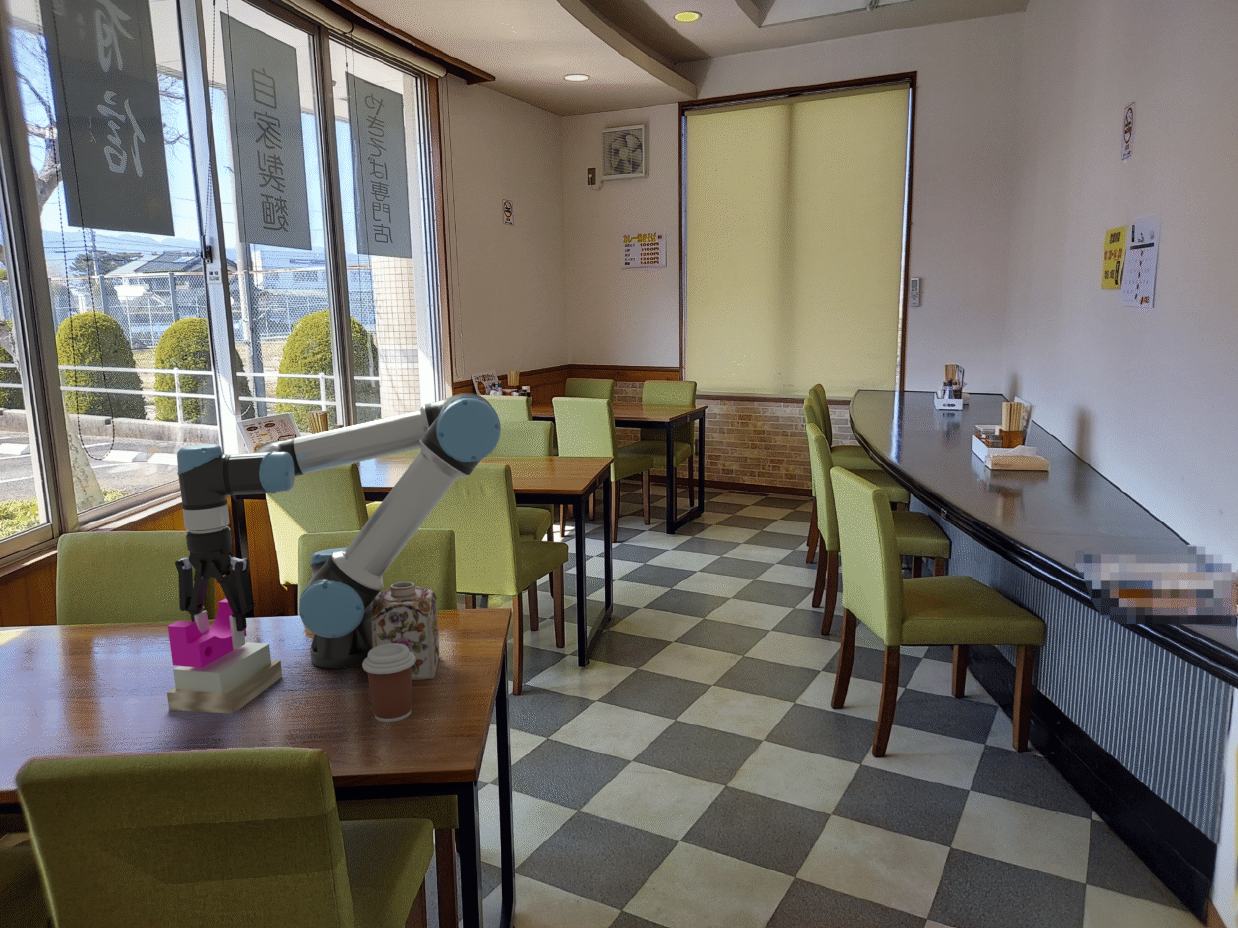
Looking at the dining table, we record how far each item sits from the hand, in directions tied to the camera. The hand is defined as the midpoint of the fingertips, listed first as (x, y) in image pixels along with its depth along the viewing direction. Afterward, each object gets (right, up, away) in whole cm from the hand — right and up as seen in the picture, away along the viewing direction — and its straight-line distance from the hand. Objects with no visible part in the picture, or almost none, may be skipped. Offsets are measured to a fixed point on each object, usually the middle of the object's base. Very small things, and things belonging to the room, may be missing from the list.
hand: (221, 645), depth 160 cm
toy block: (0, -1, -1) cm, 2 cm away
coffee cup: (+35, -10, -9) cm, 38 cm away
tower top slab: (0, -6, +1) cm, 6 cm away
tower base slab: (0, -10, +2) cm, 10 cm away
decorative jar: (+33, -7, +10) cm, 35 cm away
